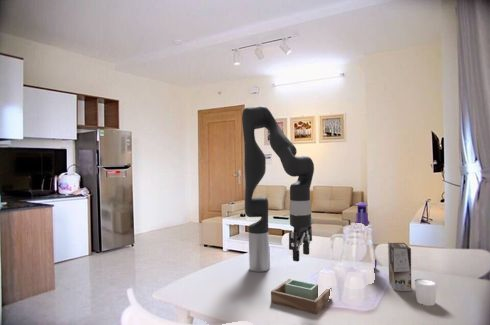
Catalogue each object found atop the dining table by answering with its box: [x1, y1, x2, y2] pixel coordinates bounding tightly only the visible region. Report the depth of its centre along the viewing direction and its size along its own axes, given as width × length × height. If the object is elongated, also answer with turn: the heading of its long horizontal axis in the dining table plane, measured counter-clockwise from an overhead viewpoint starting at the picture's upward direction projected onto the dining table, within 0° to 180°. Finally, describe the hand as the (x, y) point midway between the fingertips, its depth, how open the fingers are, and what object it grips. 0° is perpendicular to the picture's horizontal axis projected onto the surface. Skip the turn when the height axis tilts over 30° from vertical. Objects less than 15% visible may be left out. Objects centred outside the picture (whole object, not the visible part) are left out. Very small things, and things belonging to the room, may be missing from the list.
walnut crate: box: [270, 278, 332, 315], centre depth 119 cm, size 14×17×4 cm
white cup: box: [414, 278, 438, 307], centre depth 115 cm, size 7×7×7 cm
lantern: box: [354, 201, 378, 269], centre depth 151 cm, size 13×12×30 cm
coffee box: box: [387, 242, 412, 292], centre depth 129 cm, size 9×6×16 cm
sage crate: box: [285, 278, 319, 300], centre depth 119 cm, size 5×10×5 cm, turn 55°
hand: (301, 257), depth 119 cm, fingers open, 8 cm apart
